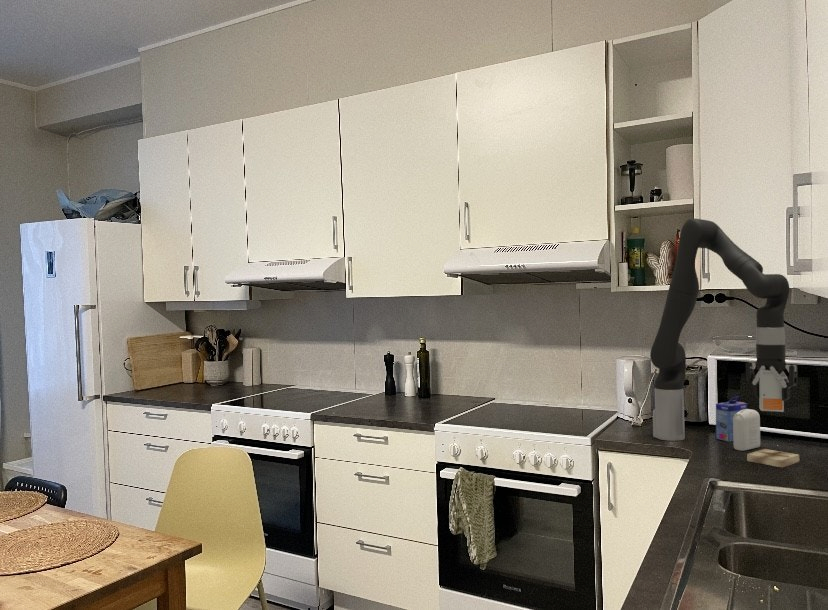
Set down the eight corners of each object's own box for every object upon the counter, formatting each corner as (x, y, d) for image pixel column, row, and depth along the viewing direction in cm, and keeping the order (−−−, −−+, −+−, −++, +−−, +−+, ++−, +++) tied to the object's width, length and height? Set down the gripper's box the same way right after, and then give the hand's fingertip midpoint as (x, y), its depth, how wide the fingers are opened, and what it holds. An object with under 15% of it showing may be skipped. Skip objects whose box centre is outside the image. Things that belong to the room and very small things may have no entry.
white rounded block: (749, 444, 213) (748, 406, 213) (762, 447, 209) (761, 408, 209) (731, 449, 207) (730, 410, 207) (744, 452, 204) (743, 412, 203)
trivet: (747, 460, 193) (747, 453, 193) (764, 455, 199) (764, 447, 199) (782, 467, 185) (782, 459, 185) (799, 461, 191) (799, 453, 191)
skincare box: (761, 411, 191) (760, 370, 191) (759, 408, 195) (758, 368, 195) (784, 412, 189) (783, 370, 188) (782, 409, 192) (781, 368, 192)
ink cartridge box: (729, 442, 217) (729, 398, 216) (715, 439, 222) (714, 396, 221) (748, 438, 222) (747, 395, 221) (733, 435, 226) (732, 393, 226)
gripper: (739, 342, 195) (740, 397, 195) (789, 344, 183) (790, 403, 184) (752, 340, 199) (753, 394, 200) (802, 342, 188) (803, 400, 188)
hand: (771, 398), depth 192 cm, fingers closed on skincare box, 7 cm apart
